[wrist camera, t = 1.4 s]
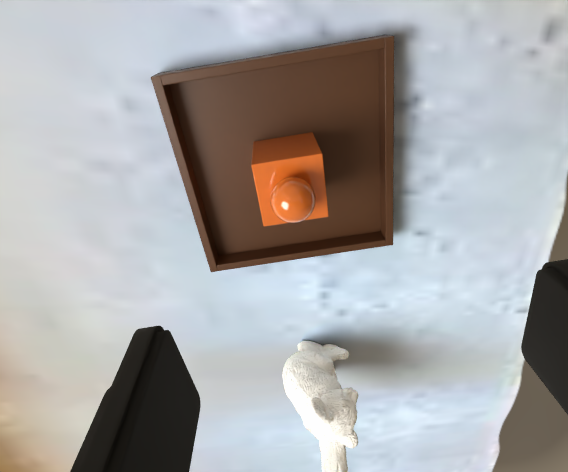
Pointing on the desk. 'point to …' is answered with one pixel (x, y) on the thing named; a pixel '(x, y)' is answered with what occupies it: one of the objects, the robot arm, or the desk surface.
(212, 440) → the desk surface
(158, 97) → the walnut tray
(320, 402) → the white lumpy piece
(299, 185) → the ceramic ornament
